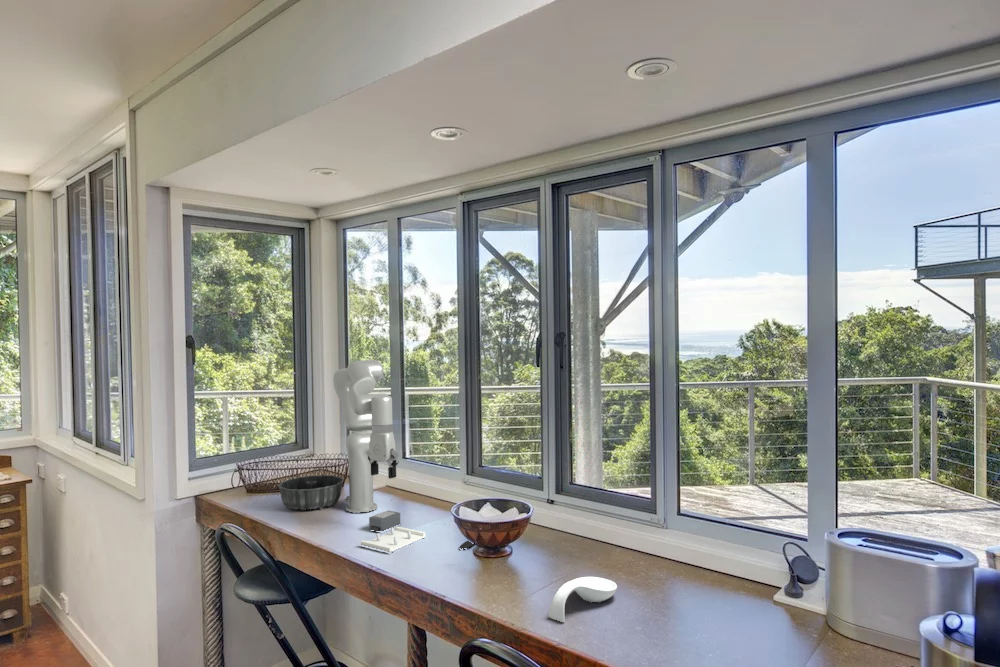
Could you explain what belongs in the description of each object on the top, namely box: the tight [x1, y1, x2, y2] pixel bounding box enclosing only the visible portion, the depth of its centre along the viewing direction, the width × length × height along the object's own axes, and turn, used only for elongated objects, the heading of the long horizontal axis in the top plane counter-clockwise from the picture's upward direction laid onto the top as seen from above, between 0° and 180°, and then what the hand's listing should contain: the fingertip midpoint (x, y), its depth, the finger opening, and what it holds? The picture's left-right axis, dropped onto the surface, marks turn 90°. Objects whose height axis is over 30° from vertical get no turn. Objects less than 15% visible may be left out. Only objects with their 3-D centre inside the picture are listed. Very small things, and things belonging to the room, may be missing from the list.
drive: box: [368, 510, 401, 531], centre depth 227 cm, size 6×11×5 cm, turn 147°
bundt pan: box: [277, 474, 345, 511], centre depth 259 cm, size 26×26×10 cm
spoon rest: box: [548, 576, 618, 623], centre depth 162 cm, size 24×12×7 cm, turn 139°
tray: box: [360, 526, 426, 552], centre depth 211 cm, size 13×18×4 cm
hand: (383, 476), depth 225 cm, fingers open, 9 cm apart
